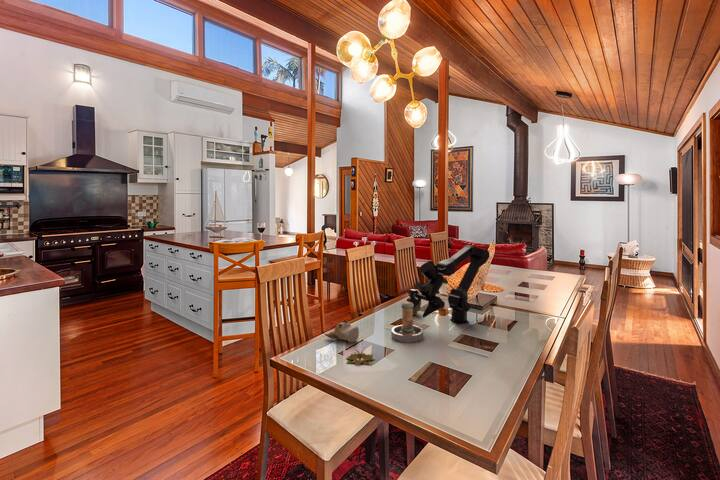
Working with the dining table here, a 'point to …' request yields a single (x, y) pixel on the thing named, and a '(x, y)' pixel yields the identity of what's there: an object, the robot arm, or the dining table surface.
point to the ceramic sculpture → (344, 332)
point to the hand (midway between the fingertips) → (415, 314)
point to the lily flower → (359, 356)
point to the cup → (417, 308)
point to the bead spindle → (407, 318)
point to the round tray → (407, 338)
